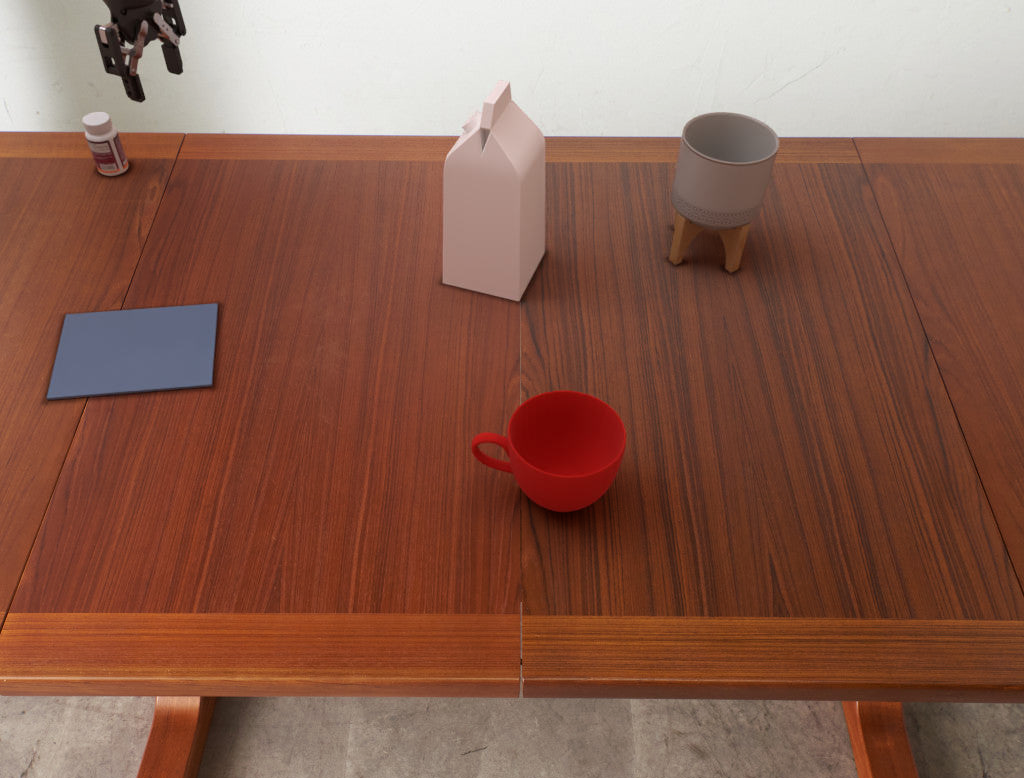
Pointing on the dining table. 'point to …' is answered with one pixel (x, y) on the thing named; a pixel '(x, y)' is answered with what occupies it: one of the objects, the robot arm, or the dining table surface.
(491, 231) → the milk
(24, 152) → the dining table surface
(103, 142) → the pill bottle
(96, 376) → the cloth
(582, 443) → the ceramic cup
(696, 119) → the planter
